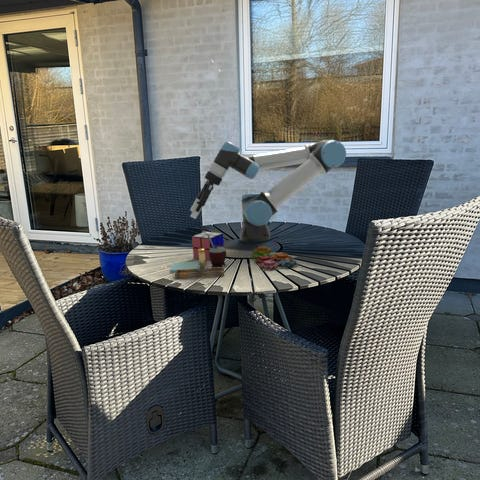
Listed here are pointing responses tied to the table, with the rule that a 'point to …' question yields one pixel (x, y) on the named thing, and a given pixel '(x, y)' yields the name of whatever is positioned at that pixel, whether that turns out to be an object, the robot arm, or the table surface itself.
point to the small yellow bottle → (202, 261)
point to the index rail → (199, 273)
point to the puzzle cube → (206, 243)
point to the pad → (184, 266)
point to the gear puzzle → (272, 259)
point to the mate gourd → (216, 254)
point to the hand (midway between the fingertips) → (192, 214)
